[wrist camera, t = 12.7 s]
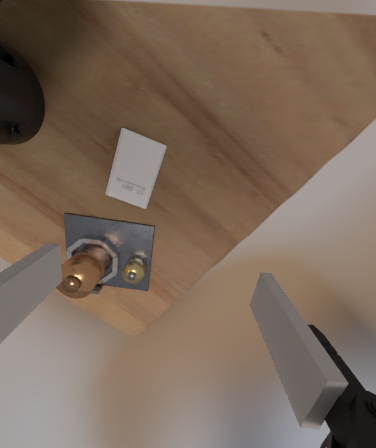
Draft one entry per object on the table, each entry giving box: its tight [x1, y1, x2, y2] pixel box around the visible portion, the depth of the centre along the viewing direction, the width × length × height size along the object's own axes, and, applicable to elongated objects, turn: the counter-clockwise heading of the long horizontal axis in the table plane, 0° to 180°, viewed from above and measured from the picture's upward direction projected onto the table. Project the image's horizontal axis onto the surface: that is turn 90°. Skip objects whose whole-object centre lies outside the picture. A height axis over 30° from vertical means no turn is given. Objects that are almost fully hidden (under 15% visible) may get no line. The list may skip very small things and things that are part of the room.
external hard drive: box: [105, 127, 167, 209], centre depth 36 cm, size 2×8×12 cm
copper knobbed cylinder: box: [56, 245, 111, 298], centre depth 38 cm, size 7×7×9 cm
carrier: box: [64, 213, 155, 294], centre depth 40 cm, size 18×16×4 cm
